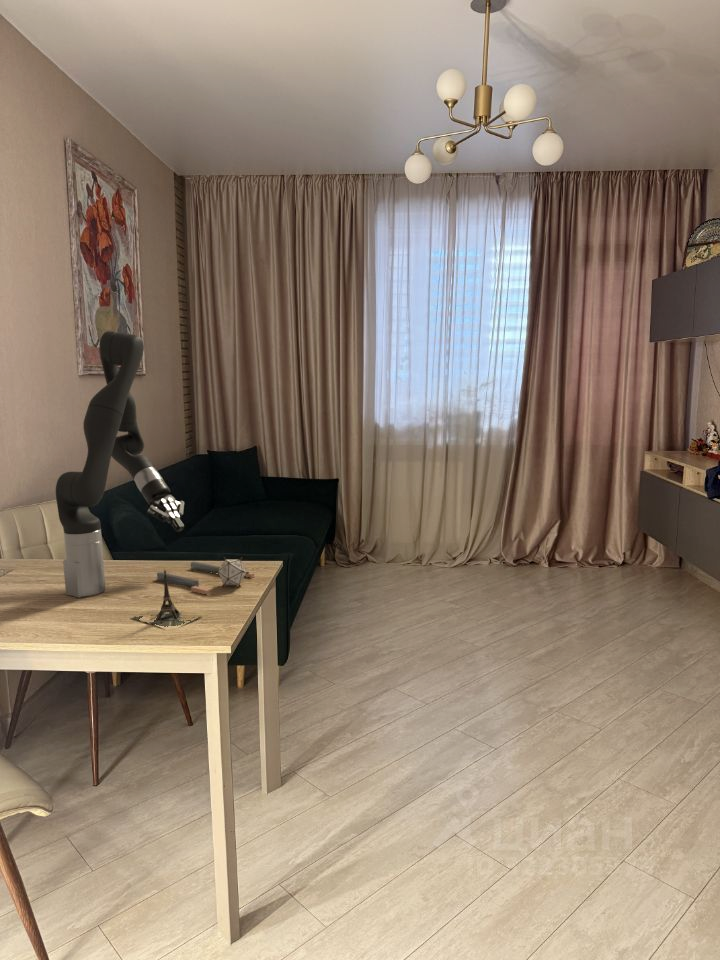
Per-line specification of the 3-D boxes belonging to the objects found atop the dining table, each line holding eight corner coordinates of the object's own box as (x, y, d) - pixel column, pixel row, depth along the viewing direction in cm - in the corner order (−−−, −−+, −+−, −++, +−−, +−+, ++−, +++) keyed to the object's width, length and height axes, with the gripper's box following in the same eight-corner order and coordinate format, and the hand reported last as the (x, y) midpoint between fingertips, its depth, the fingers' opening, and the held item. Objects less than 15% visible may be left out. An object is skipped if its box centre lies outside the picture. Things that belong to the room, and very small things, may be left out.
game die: (239, 596, 178) (258, 566, 179) (230, 595, 170) (251, 564, 171) (214, 579, 180) (233, 549, 181) (204, 577, 171) (224, 546, 173)
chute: (195, 588, 174) (195, 581, 174) (157, 579, 183) (156, 573, 182) (231, 575, 185) (231, 569, 185) (194, 567, 194) (193, 561, 194)
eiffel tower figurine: (128, 620, 152) (124, 567, 150) (163, 607, 160) (159, 557, 158) (169, 633, 144) (165, 576, 142) (203, 619, 152) (200, 565, 150)
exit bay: (207, 595, 168) (206, 590, 168) (191, 591, 172) (191, 587, 171) (254, 577, 183) (254, 573, 183) (239, 574, 187) (239, 570, 187)
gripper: (138, 480, 183) (168, 525, 178) (174, 475, 194) (203, 518, 189) (128, 496, 187) (157, 541, 182) (164, 491, 198) (192, 533, 193)
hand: (180, 529), depth 185 cm, fingers closed
